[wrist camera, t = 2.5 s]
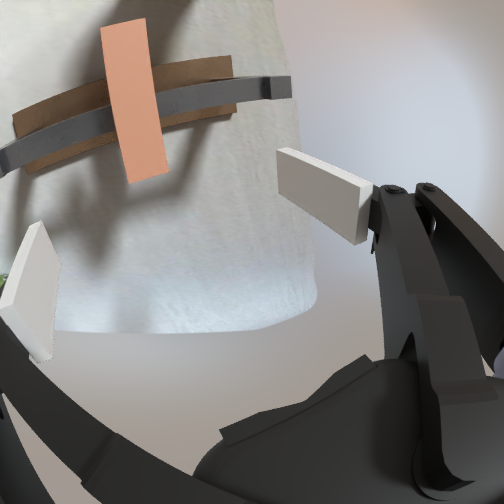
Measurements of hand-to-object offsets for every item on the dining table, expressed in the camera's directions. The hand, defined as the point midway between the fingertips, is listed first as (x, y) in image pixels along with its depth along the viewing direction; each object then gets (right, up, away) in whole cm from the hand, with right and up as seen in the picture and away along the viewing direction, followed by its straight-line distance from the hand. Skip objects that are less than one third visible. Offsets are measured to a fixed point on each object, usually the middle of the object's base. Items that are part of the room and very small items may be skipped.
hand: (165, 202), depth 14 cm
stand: (-11, +15, +16) cm, 24 cm away
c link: (-9, +13, +11) cm, 19 cm away
